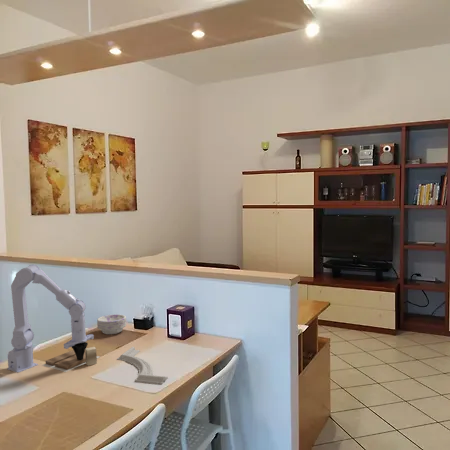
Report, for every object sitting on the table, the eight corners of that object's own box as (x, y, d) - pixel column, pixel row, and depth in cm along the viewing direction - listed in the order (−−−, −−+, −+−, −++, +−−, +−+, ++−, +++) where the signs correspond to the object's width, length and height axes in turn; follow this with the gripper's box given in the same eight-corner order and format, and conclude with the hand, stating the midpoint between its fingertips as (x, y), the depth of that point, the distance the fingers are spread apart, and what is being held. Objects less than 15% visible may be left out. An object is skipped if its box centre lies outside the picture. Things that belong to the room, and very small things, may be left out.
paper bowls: (118, 325, 242) (118, 312, 241) (131, 331, 230) (131, 317, 230) (93, 331, 232) (92, 317, 231) (105, 338, 220) (104, 323, 220)
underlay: (65, 372, 178) (65, 371, 178) (41, 365, 186) (41, 365, 186) (100, 357, 194) (100, 356, 194) (77, 351, 202) (77, 351, 202)
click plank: (67, 369, 179) (66, 366, 179) (54, 366, 183) (54, 363, 183) (96, 357, 193) (96, 354, 193) (84, 354, 197) (84, 351, 197)
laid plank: (53, 366, 184) (52, 362, 184) (45, 364, 187) (45, 360, 187) (82, 354, 198) (82, 350, 198) (75, 352, 200) (75, 349, 200)
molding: (171, 383, 166) (171, 376, 166) (141, 390, 160) (141, 383, 160) (137, 350, 203) (137, 344, 203) (112, 355, 197) (111, 349, 197)
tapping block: (95, 362, 189) (96, 364, 186) (85, 364, 186) (87, 366, 184) (94, 346, 188) (96, 348, 185) (85, 348, 186) (86, 350, 183)
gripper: (70, 335, 178) (72, 367, 179) (97, 325, 190) (99, 355, 191) (59, 333, 181) (61, 364, 182) (86, 323, 194) (88, 353, 195)
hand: (80, 359), depth 187 cm, fingers closed, pressing on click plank
